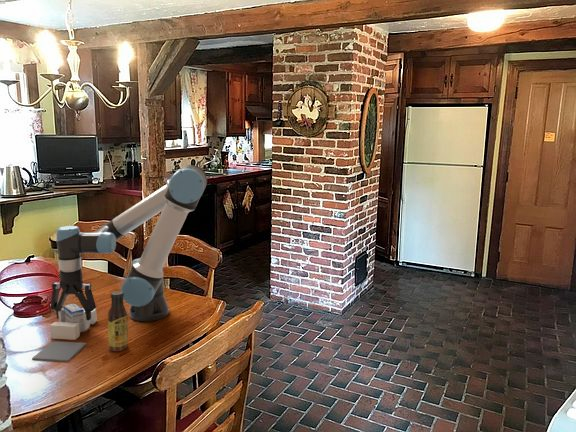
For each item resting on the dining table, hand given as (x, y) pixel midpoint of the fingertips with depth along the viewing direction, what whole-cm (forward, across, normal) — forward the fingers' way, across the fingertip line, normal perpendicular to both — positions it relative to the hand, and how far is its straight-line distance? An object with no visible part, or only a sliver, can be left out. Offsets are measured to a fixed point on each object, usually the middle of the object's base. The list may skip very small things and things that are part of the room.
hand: (74, 327), depth 174 cm
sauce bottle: (+1, -22, +12) cm, 25 cm away
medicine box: (+1, 0, 0) cm, 1 cm away
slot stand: (+1, 0, 0) cm, 1 cm away
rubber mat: (+1, -4, +17) cm, 17 cm away
